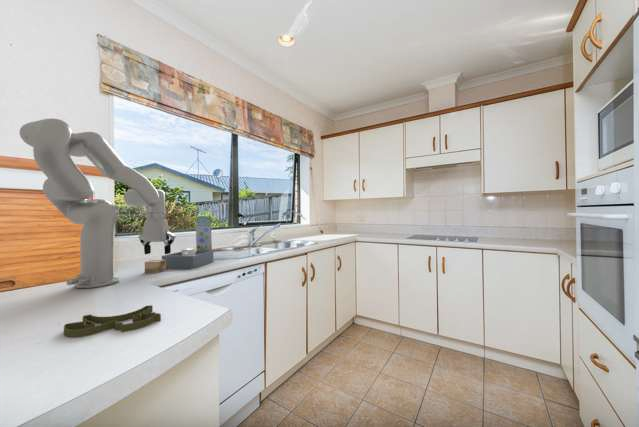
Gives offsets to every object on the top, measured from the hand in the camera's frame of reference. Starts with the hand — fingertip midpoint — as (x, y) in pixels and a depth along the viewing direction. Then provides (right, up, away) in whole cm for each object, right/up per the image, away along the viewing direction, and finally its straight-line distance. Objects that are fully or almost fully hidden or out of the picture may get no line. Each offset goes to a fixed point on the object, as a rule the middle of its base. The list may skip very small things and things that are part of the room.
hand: (157, 253), depth 122 cm
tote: (+7, -8, +15) cm, 19 cm away
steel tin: (+7, -7, +15) cm, 18 cm away
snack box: (+4, -8, +40) cm, 41 cm away
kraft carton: (0, -8, -1) cm, 8 cm away
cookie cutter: (+27, -8, -60) cm, 67 cm away
